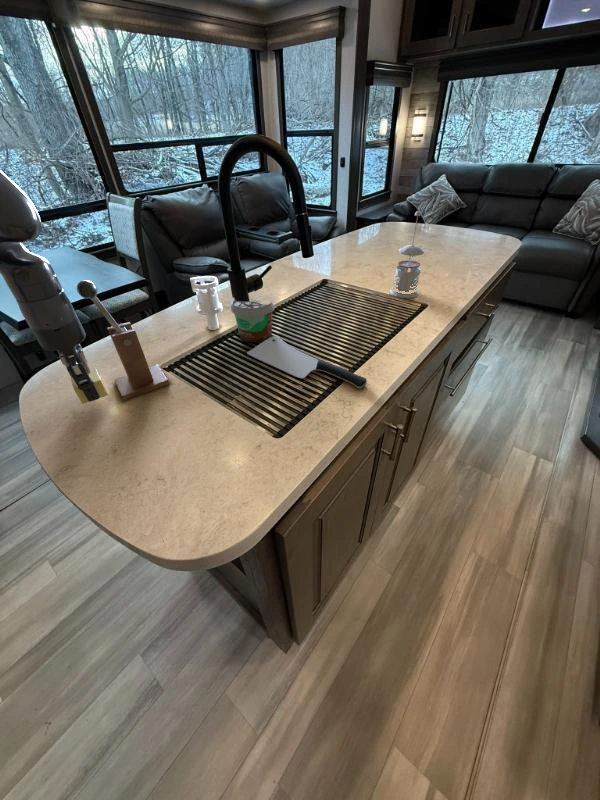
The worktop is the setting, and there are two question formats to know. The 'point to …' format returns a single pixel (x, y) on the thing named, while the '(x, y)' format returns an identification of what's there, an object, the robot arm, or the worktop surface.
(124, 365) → the wooden stand
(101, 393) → the butter
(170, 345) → the worktop surface
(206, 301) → the white plastic fitting
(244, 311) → the food container
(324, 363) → the kitchen cleaver
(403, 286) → the french press
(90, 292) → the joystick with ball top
